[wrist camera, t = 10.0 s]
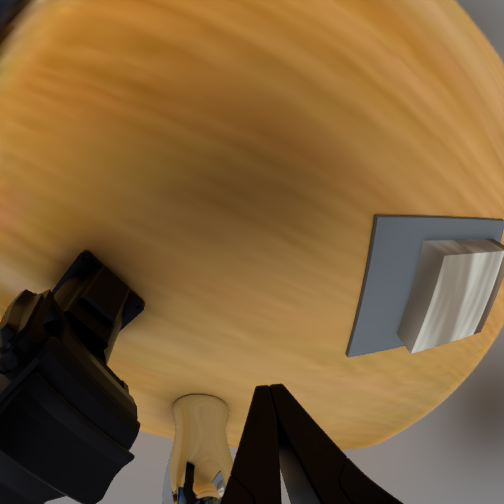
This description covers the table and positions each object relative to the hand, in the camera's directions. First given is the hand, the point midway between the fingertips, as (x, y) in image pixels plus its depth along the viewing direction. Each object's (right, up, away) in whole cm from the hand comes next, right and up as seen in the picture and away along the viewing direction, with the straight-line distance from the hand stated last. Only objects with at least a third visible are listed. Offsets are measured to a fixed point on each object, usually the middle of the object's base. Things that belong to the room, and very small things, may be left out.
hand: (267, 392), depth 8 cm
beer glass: (-6, -13, +20) cm, 24 cm away
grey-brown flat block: (+14, 0, +14) cm, 20 cm away
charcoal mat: (+18, +1, +16) cm, 24 cm away
